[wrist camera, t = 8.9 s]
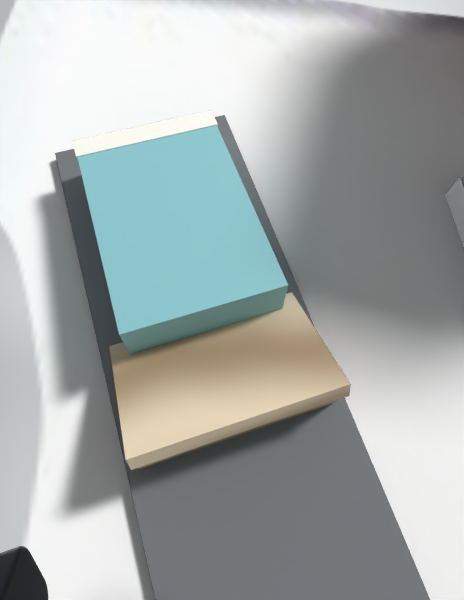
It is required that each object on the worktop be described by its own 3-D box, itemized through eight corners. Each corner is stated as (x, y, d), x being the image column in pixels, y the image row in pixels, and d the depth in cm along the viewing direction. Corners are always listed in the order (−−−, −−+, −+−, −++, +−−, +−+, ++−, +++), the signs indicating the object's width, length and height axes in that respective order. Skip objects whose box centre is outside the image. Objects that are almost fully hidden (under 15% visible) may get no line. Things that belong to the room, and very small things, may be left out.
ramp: (332, 407, 18) (354, 392, 15) (142, 472, 17) (127, 469, 14) (288, 300, 20) (300, 269, 17) (114, 352, 19) (95, 328, 16)
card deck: (289, 284, 17) (211, 110, 21) (117, 334, 16) (72, 141, 20) (283, 308, 19) (212, 144, 23) (129, 354, 18) (85, 173, 22)
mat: (436, 624, 15) (441, 626, 15) (187, 733, 14) (187, 740, 14) (224, 120, 24) (224, 115, 24) (57, 158, 23) (55, 153, 22)
